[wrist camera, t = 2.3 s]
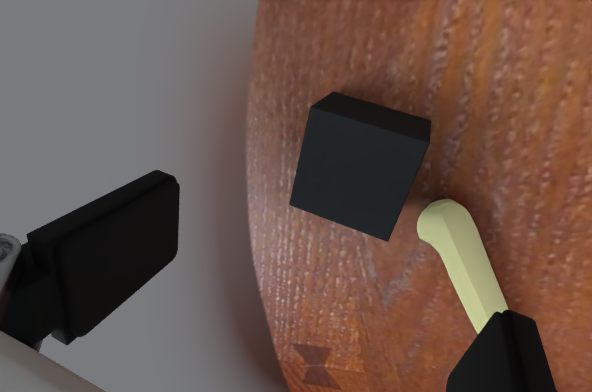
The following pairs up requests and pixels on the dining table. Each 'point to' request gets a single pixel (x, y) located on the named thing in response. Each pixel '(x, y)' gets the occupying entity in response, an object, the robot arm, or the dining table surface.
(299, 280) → the dining table surface
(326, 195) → the loose pad
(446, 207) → the knife
